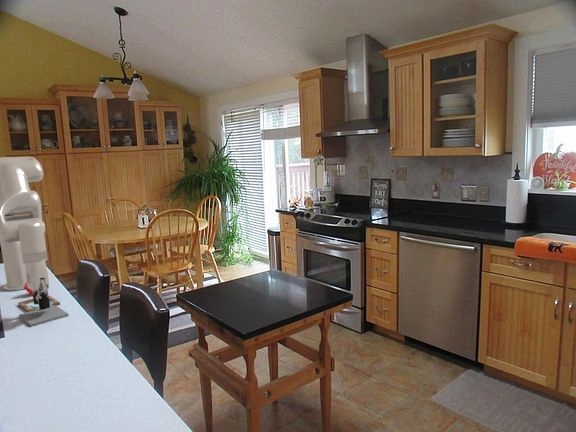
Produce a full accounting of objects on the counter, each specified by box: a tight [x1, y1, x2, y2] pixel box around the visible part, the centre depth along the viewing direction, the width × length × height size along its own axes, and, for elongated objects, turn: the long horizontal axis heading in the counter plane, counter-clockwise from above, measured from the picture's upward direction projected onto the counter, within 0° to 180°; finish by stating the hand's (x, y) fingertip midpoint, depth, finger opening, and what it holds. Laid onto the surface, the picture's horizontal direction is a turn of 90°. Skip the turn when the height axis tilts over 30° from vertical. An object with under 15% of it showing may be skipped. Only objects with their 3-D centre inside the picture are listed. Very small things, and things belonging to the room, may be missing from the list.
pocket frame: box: [17, 294, 61, 313], centre depth 166 cm, size 14×11×1 cm
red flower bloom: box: [23, 283, 33, 297], centre depth 179 cm, size 8×6×6 cm
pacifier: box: [29, 294, 54, 311], centre depth 153 cm, size 7×6×6 cm
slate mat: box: [18, 305, 69, 328], centre depth 153 cm, size 14×12×1 cm
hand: (42, 306), depth 153 cm, fingers closed on pacifier, 5 cm apart
